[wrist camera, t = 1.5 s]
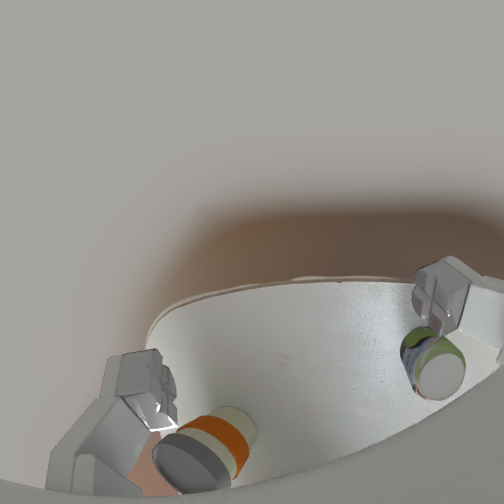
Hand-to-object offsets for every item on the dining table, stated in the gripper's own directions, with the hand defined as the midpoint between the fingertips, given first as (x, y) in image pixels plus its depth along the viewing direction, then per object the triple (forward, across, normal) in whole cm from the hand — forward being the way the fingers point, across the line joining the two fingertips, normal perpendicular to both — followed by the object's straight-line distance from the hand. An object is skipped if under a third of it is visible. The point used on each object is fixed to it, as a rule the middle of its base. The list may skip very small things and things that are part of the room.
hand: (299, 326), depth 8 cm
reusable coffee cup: (+22, +9, +42) cm, 48 cm away
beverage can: (+13, -20, +23) cm, 33 cm away
